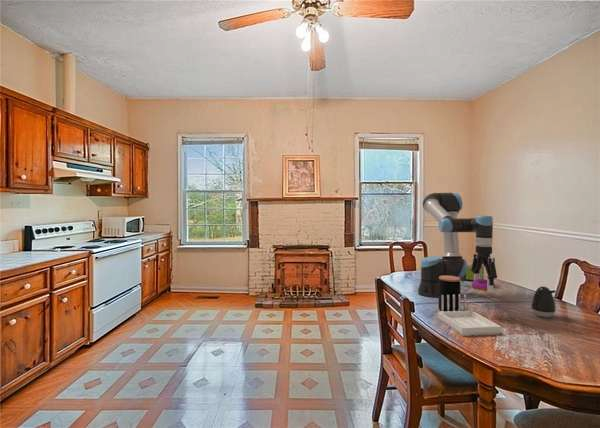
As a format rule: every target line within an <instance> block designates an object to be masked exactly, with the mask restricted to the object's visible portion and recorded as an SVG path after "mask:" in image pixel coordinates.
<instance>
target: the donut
mask: <svg viewBox="0 0 600 428" xmlns="http://www.w3.org/2000/svg"><path fill="white" fill-rule="evenodd" d="M471 285H472V286H473V287H472V289H474V290H477V291H483V292H488V291H487V279H485V278H484V279H477V280H474V281H473V282H472V284H471ZM495 286H496V284H495V283H494V285H493V290H494V289H495V288H496V287H495Z"/></svg>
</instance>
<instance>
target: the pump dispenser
mask: <svg viewBox="0 0 600 428" xmlns="http://www.w3.org/2000/svg"><path fill="white" fill-rule="evenodd" d="M556 292H557V291H556V290H555V289H554V290H550V289H549V287H547V286H540V287H537V289H536V290H535V292H534V295H533V296H532V300H531V303H530V304H531V305H530V307H531V310H532V313H534V315H536V316H537V317H540V318H544V319H545V318H546V319H548V318H551V317H553V316H554V315H555V312H556V311H557V309H556V308H557V307H556V301H555V297H554V295H553V294H554V293H555V294H556Z"/></svg>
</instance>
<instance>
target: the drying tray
mask: <svg viewBox="0 0 600 428" xmlns="http://www.w3.org/2000/svg"><path fill="white" fill-rule="evenodd" d="M437 319H438V320H439V319H440V320H441V322H442V321H443V322H444V323H443V322H442V323H443V324H445V325H446V324H447V325H448V326H447V325H446V326H447V327H448V328H450V327H451V329H452V330H453V331H454V330H455V331H454V332H456V333H457V332H458V333H457V334H459V335H460V336H461V335H462V337H465V336H467V337H470V336H471V335H474V336H495V335H502V326H501V325H499V324H497V323H495V322H493V321H492V320H490V319H488V318H486V317H484V316H483V315H481V314H479V313H477V312H475V311H473V310H466V311H464V310H461V311H444V312H441V311H437ZM440 320H439V321H440Z"/></svg>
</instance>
